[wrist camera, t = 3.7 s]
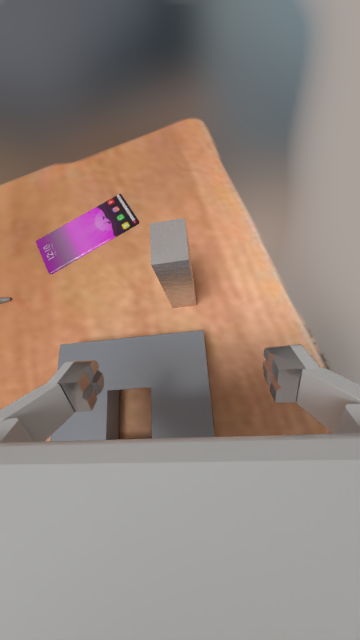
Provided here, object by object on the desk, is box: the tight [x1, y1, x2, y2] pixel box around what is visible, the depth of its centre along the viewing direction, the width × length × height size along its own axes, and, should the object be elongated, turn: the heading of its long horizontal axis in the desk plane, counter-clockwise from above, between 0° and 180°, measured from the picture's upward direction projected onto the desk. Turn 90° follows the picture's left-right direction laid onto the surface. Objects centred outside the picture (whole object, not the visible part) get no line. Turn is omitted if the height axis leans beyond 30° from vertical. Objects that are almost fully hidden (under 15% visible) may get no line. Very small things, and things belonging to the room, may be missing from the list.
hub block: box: [50, 330, 215, 441], centre depth 22 cm, size 16×16×3 cm
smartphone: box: [36, 194, 139, 274], centre depth 32 cm, size 7×15×1 cm, turn 120°
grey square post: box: [150, 218, 197, 308], centre depth 22 cm, size 4×3×10 cm
